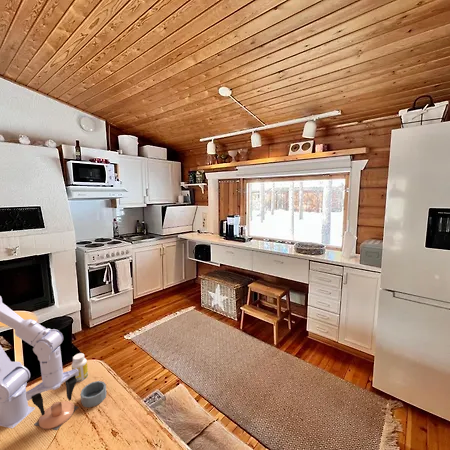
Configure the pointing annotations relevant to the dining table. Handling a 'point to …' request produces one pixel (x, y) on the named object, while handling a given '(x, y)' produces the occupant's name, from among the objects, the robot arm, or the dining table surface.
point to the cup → (93, 394)
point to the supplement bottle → (80, 366)
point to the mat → (58, 426)
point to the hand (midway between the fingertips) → (56, 405)
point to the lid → (56, 415)
